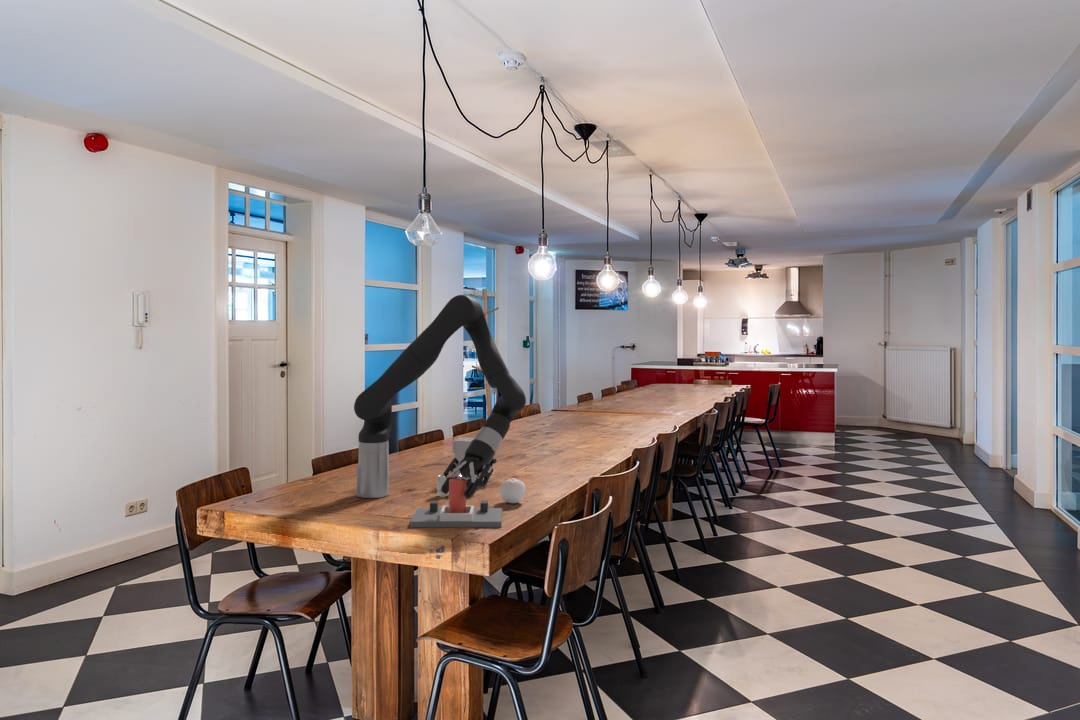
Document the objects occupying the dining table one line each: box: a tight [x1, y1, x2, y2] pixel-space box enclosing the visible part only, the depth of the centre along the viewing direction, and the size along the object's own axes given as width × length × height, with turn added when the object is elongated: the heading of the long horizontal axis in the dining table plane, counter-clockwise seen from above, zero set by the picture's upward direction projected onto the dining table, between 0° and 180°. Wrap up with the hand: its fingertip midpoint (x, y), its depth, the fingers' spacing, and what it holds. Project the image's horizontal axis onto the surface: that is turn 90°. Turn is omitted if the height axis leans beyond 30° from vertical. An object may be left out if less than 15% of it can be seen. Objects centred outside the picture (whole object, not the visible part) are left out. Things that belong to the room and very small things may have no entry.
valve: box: [435, 474, 476, 498], centre depth 211 cm, size 7×7×12 cm
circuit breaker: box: [451, 437, 498, 481], centre depth 230 cm, size 8×14×15 cm, turn 81°
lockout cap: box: [448, 478, 467, 513], centre depth 179 cm, size 5×5×10 cm
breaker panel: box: [409, 500, 503, 528], centre depth 182 cm, size 24×14×4 cm, turn 92°
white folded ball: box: [499, 477, 527, 504], centre depth 202 cm, size 8×8×8 cm
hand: (454, 494), depth 179 cm, fingers open, 8 cm apart
